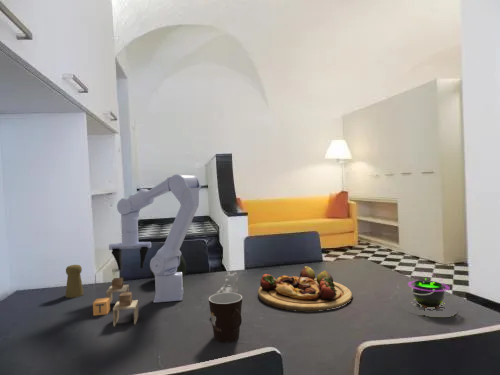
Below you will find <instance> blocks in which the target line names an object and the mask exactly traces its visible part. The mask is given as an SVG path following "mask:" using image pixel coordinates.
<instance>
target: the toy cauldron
mask: <svg viewBox="0 0 500 375" xmlns="http://www.w3.org/2000/svg"><path fill="white" fill-rule="evenodd" d="M420 274H423V271H420ZM435 274H436V272H433V274H432V273H431V274H428V275H429V276H433V277H434V278H437V277H436V276H435ZM415 276H418V274H417V275H415ZM440 278H441V281H443V280H444V279H443V278H442V277H440ZM413 283H414V284H413ZM412 284H413V285H412ZM407 286H408V287H410V288H411V293H412V297H413V299H412V300H413V301H417V302H418V303H419V304H421V305H422V307H420V305H419V304H417V303H416V302H411V303H415V304H413V306H415V307H418V309H419V310H424V311H425V308H427V307H435V309H433V310H436V311H443V309H440V308H444V309H445V307H439V305H441V306H443V304H441V303H444V299H445V297H446V293H445V292H446V291H449V290H450V286H449V285H448V284H445V283H442V282H440V281H439V282H438V281H436V280H435V281H433V280H427V278H424V279H422V280H421V279H417V280H412V281H408V284H407ZM444 287H445V288H444ZM427 310H429V311H433V310H431V309H427Z"/></svg>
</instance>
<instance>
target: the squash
mask: <svg viewBox="0 0 500 375" xmlns="http://www.w3.org/2000/svg"><path fill="white" fill-rule="evenodd" d="M149 271H150V274H151V277H152V278H153V279H154V280H155V275H154V273H153V272H152V270H151V268H150V267H149ZM176 272H182V279H183V278H184V276H185V275H186V272H187V264H186V260H185V257H184V256H183V255H182V254H181V256H180V264H179V266H178V267H177V271H176Z"/></svg>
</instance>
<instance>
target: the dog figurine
mask: <svg viewBox="0 0 500 375" xmlns="http://www.w3.org/2000/svg"><path fill="white" fill-rule="evenodd" d="M238 281H239V278H238V273H237V272H233V273H232V274H231V272H230V271H226V273H225V276H224V283H223V285H222V286H221V287H220V289H219V290H217V291H216V292H215V294H219V293H237V294H239V293H238V292H239V291H238V287H237V284H238Z"/></svg>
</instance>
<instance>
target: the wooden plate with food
mask: <svg viewBox="0 0 500 375" xmlns="http://www.w3.org/2000/svg"><path fill="white" fill-rule="evenodd" d="M259 283H260V286H259V288H258V291H257V295H258V297H259V299H260V300H261V301H262V302H264V303H265V304H266V305H268V306H270V305H271V307H273V308H276V307H277V308H276V309H279V308H281V309H280V310H283V309H286V310H285V311H288V310H296V311H295V312H297V311H319V310H327V309H332V308H336V307H339V306H342V305H344V304H346V303H348V302H349V301H350V300H351V299H352V300H353V293H352V291H351V290H350V289H349V288H348V287H347V286H345V285H343V284H341V283H338V282H335V281H334V278H333V276H332V274H331V273H329V271H326V270H323V271H320V273H318V274H317V276H316V273H315V271H314V270H313V269H312V268H311V267H309V266H303V268H302V269H301V270H300V274H299V277H298V276H297V275H296V276H288V275H281V276H279V277H277V279H276V277H274V276H273V275H271V274H267V273H265V274H263V275H262V276H261V278H260V282H259ZM352 300H351V301H352Z"/></svg>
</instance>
